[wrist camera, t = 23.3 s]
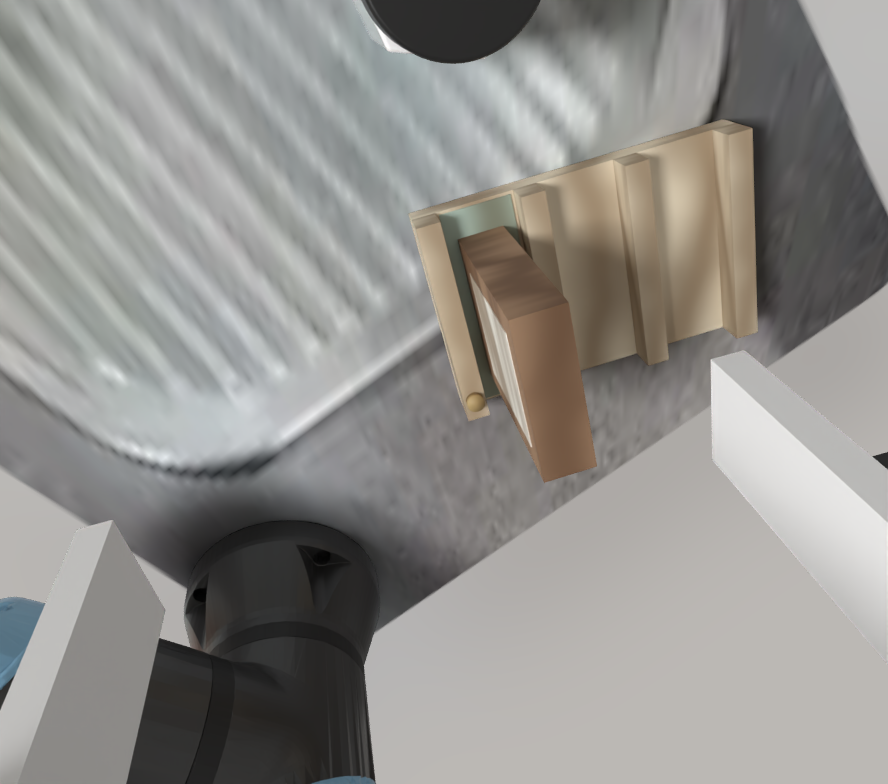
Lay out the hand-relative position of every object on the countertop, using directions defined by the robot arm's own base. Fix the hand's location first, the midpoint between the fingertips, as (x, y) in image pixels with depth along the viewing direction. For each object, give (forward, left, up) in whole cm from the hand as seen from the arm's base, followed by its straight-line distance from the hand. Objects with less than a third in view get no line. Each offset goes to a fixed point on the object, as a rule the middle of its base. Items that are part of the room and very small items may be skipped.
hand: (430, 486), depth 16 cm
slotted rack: (+13, -11, -33) cm, 37 cm away
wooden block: (+7, -11, -31) cm, 33 cm away
